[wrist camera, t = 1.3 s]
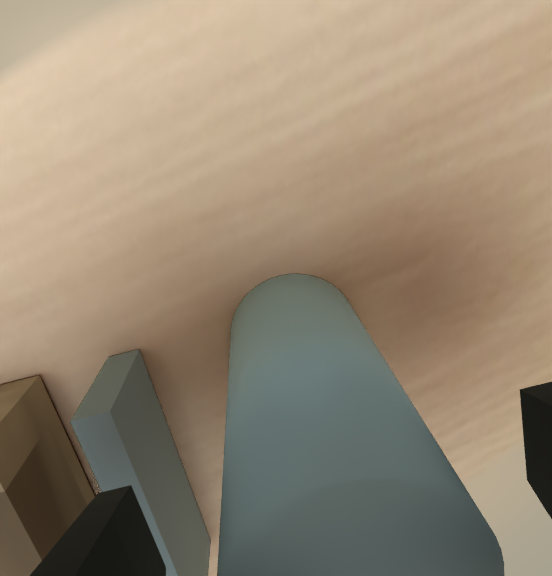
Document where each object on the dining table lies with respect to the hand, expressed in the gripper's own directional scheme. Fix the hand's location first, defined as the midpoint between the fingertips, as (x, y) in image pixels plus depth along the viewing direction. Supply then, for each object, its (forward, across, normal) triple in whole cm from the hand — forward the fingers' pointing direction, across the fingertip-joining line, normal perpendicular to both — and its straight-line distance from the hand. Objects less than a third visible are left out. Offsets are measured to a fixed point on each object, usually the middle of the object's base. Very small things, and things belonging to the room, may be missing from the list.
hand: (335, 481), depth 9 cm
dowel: (+7, 0, 0) cm, 7 cm away
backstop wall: (+7, +5, +3) cm, 9 cm away
